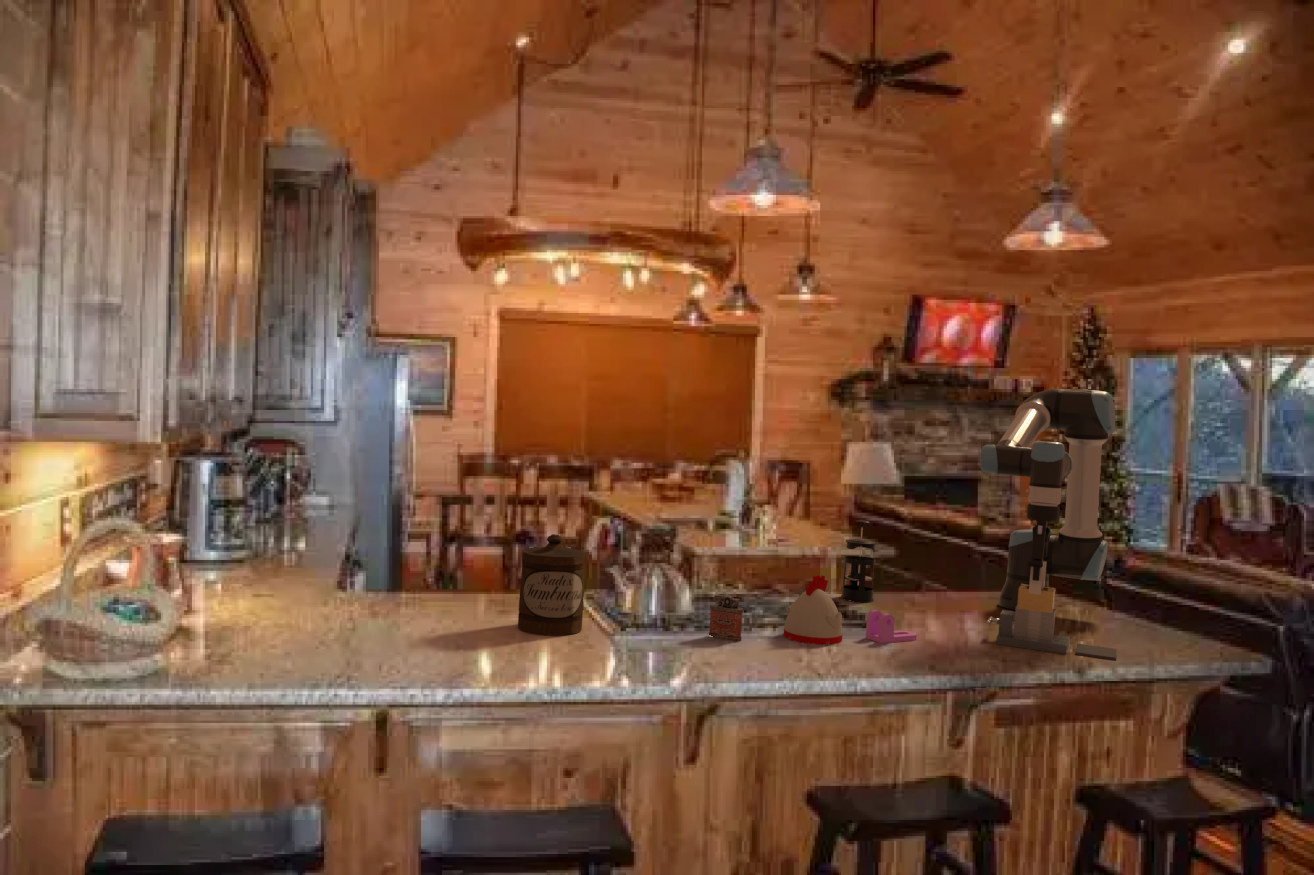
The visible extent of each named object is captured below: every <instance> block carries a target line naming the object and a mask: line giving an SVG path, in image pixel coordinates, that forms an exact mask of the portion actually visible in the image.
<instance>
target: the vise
mask: <svg viewBox="0 0 1314 875" xmlns="http://www.w3.org/2000/svg"><path fill="white" fill-rule="evenodd" d="M1044 583H1045V580H1042V586H1041V590H1044ZM1017 605H1018V604H1017ZM1056 612H1057V611H1056V608H1054V609H1053V612H1052V613H1047V612H1039V611H1032V610H1024V609H1017V606H1016V609H1015V610H1005V609H1002V610H1001V611H1000V614H999V618H996V617H993V616H989V618H988V619H987V621H986V624H987V625H991V624H992V625H993V624H994V625H998V634H997V636H996V645H999V646H1000V645H1001V646H1007V647H1014V648H1021V649H1028V650H1034V649H1036V651H1042V652H1050V653H1056V654H1063V655H1067V652H1068V648H1069V644H1070V643H1069V642H1070V636H1066V635H1057V634H1055V621H1056Z"/></svg>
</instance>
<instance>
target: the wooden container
mask: <svg viewBox="0 0 1314 875" xmlns="http://www.w3.org/2000/svg"><path fill="white" fill-rule="evenodd" d="M546 541H547V542H548V543H547V544H546V546H533V547H527V548H524V549H523V550H522V553H521V554H522V555H521V574H520V575H521V577H520V587H519V600H518V619H517V628H518V629H519V630H520V631H522V632H524V633H527V634H531V635H538V636H539V635H540V636H552V637H553V636H554V637H557V636H558V637H559V636H560V637H562V636H570V635H575V634H577V633H581V631H582V629H583V614H584V599H585V597H584V595H585V572H586V571H585V569H586V567H585V565H586V563H585V562H586V552H585V551H583V550H580V549H577V548H571V547H570V548H569V547H563V545H562V541H563V538H562V536H560V535H559V534H555V533H554V534H553V533H552V534H551V535H549V536H547V538H546Z"/></svg>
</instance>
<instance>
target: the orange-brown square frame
mask: <svg viewBox="0 0 1314 875" xmlns="http://www.w3.org/2000/svg"><path fill="white" fill-rule="evenodd" d="M1055 598H1056V587H1051V586H1049V587H1044V590H1041V595H1039V594H1031V593H1029V585H1026V584H1021V586H1020V587H1019V592H1018V605H1017V609H1024V610H1032V611H1039V612H1047V613H1052V612H1053V609H1055Z"/></svg>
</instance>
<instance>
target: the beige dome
mask: <svg viewBox="0 0 1314 875" xmlns="http://www.w3.org/2000/svg"><path fill="white" fill-rule="evenodd" d="M828 583H829V580H827V579H826V576H825V575H813V576H812V580H809V581H808V586H805V587H804V588H805V591H804V592H802V593H801V594H800V595H799V596H798V597H797V598H796V599H795V600H794V602H793V604H792V605H791V606H788V607H787V616H786V619H785V622H784V626H783V637H784V636H785V637H784V638H786V639H788V640H790V641H794V642H798V643H804V644H809V645H810V644H811V645H821V646H822V645H825V646H826V645H836V644H840V643H842V641H843V625H842V624H843V615H842V613H841V612H839V610H838V608H837V606H836V604H835V602H834V601H833V599H832V598H831V596H830V595H829V594H828V593H826V589H827V586H828Z"/></svg>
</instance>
